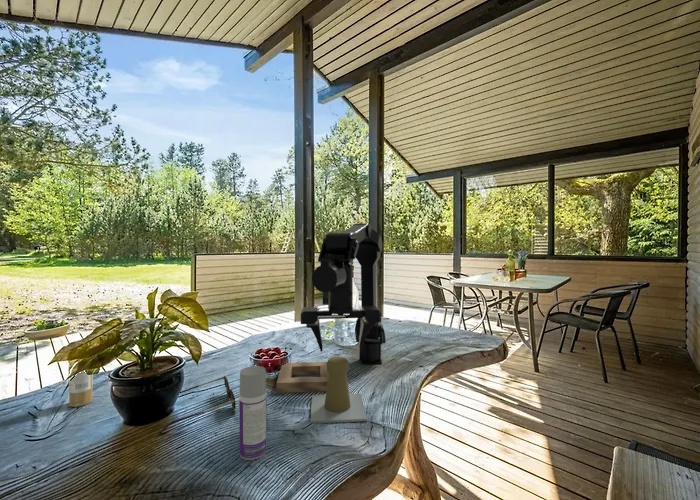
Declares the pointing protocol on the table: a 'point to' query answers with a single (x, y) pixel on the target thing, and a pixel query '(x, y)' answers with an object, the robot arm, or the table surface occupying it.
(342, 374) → the tan knobbed peg
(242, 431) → the container
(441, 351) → the table surface
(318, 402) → the tile
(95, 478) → the table surface
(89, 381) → the sprinkles bottle
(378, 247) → the robot arm
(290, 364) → the holder
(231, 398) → the sunglasses
